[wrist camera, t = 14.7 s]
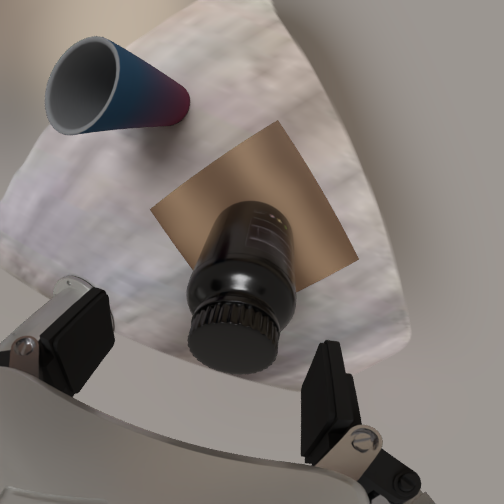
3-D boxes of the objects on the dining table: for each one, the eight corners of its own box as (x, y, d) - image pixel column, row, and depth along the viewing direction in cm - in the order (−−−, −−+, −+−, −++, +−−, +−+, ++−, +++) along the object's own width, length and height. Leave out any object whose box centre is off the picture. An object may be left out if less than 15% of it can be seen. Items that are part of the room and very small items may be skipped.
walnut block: (242, 293, 34) (233, 322, 28) (173, 197, 30) (149, 209, 25) (346, 238, 30) (358, 259, 24) (279, 125, 26) (277, 120, 21)
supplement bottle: (259, 279, 26) (241, 394, 16) (199, 237, 24) (147, 346, 15) (311, 232, 23) (323, 353, 13) (247, 180, 21) (209, 282, 11)
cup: (208, 114, 26) (135, 91, 12) (155, 145, 28) (60, 155, 14) (182, 64, 24) (103, 17, 10) (133, 97, 26) (36, 82, 12)
